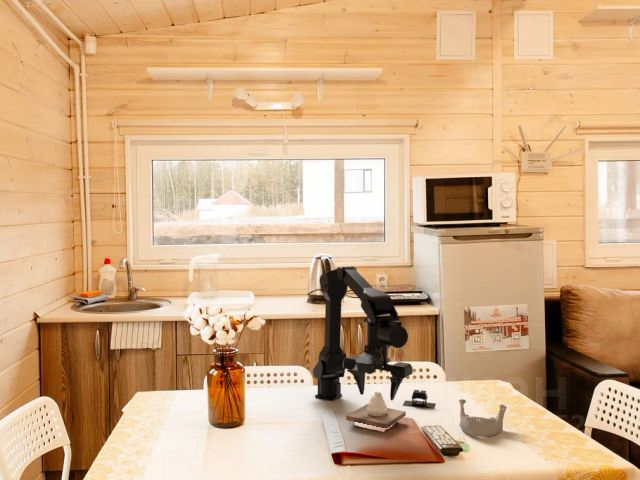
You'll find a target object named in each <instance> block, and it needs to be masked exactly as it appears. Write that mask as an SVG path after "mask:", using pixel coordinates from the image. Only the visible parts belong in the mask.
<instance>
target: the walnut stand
mask: <svg viewBox="0 0 640 480" xmlns="http://www.w3.org/2000/svg"><path fill="white" fill-rule="evenodd" d="M367 406H368V403H367V404H365V405H362V406H361V407H359V408H358V409H356V410H354V411H351V412H350V413H349V414H346V416H345V417H346V418H345V419H346V421H349V422H353V423H354V422H358V423H363V424H367V425H372V426H376V427H381V428H388V427H390V426H391V425H393V424H394V423H396V422H397V421H398V422H399V421H400V420H401V419H403V418H404V417H406V414H407V413H406V410H405V411H404V410H400V409H394V408H389V407H387V412H386V414H385V415H381V416H373V415H370V414H369V413H368V411H367Z"/></svg>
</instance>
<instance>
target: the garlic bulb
mask: <svg viewBox="0 0 640 480" xmlns="http://www.w3.org/2000/svg"><path fill="white" fill-rule="evenodd" d="M367 404H368V406H367V411H368V413H369V414H370V415H373V416H381V415H385V414H386V412H387V408H388V406H387V404H386V400H384V397H383V395H382V392H379V391H378V390H375V391H374V394H373V395H372V396H371V397H370V399H369V401H368V402H367Z"/></svg>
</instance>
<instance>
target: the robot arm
mask: <svg viewBox="0 0 640 480" xmlns="http://www.w3.org/2000/svg"><path fill="white" fill-rule="evenodd" d="M319 285H320V292H321V294H322V295H323V298H324V299H325V313H324V314H325V315H324V319H325V320H324V345H323V346H322V349H321V350H320V352H319V353H318V362H317V363H316V364H315V366H314V368H313V369H312V375H313V378H315V379H317V393H316V394H315V395H314V398H318V399H322V400H329V401H334V400H336V399H338V398H339V397H342V396H343V394H342V392H341V391H342V390H341V389H342V388H341V387H342V385H341V384H342V383H341V381H340V379H341V378H344V377H345V373H346V371H347V373H350V374H351V375H352V376H353V378H354V380H355V383H356V385H357V387H358V390H359V391H358V392H359V394H360V395H361V396H362V395H364V392H365V386H366V385H365V384H366V383H365V382H366V374H367V375H372V374H374V373H375V372H376V370H379V371H384V372H389V373H390V375H391V376H390V377H389V378H388V379H389V380H390V392H389V393H390V394H389V395H390V396H389V397H390V401H393V400H394V399H395V397H396V394H397V392H398V390H399V388H400V385H401V384H402V382H403V380H404V379H406V378H408V377H409V376H411V375H412V374H413V365H412V364H411V363H409V362H402V361H398V362H396V363H394V364H391V363H390V362H391V358H389V356H388V355H389V348H390V347H393V348H395V349H400V348H403V347H404V346H405V345H406V344H407V342H408V339H409V333H408V331H407V329H406V328H405V327H404V326H402V325H403V324H402V323H403V322H402V321H401V320H400V318H399V314H398V311H397V309H396V307H395V305H394V304H395V303H394V302H393V300H392V298H391V296H390V295H389V294H387V293H386V292H384V291H383V290H379V289H376V288H374V287H373V286H372V285H371V284H370V282H368V281H367V280H366V279H365V278H364V276H362V275H361V274H360V273H359V272H358V269H357V268H356V267H355V266H353V265H345V266H343V265H341V266H340V267H339V266H338V267H337V268H335V269H332V270H330V271H324V272H323V273H322V274H321V275H320V276H319ZM348 289H350V290H351V291H352V293H354V295H355V296H356V297H357V298H358V299H359V300H360V308H361V309H362V311H363V312H364V314H365V315H366V316H365V317H364V319H363V320H362V321H363V322H365V323H366V344H365V345H364V347H363V352H362V353H361V354H360V355H356V354H353V355H349V356H347V354H346V353H345V352H344V350H343V348H341V338H342V337H341V333H342V332H341V331H342V329H341V328H342V300H343V299H344V297H345V296H346V294H347V292H348ZM389 363H390V364H389Z"/></svg>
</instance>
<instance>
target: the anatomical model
mask: <svg viewBox="0 0 640 480" xmlns="http://www.w3.org/2000/svg"><path fill="white" fill-rule="evenodd" d="M458 402H459V405H460V413H459V414H460V415H459V417H460V418H459V419H460V420H459V427H460V428H461V430H462V432H464V433H465V434H467V435H468V436H475V437H482V438H490V437H494V436H497V435H498V434H500V433H504V417H505V413H506V411H507V408H508V407H507V406H506V405H505V404H503V403H501V404H500V405H499V411H498V413H497V415H496V416H495V417H493V416H491V417H489V418H487V417H481V416H480V417H479V416H471V415H469V414H466V412H465V407H464V405H465V404H466V403H467V400H466V399H465V398H464V399H463V398H460V399H458Z"/></svg>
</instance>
